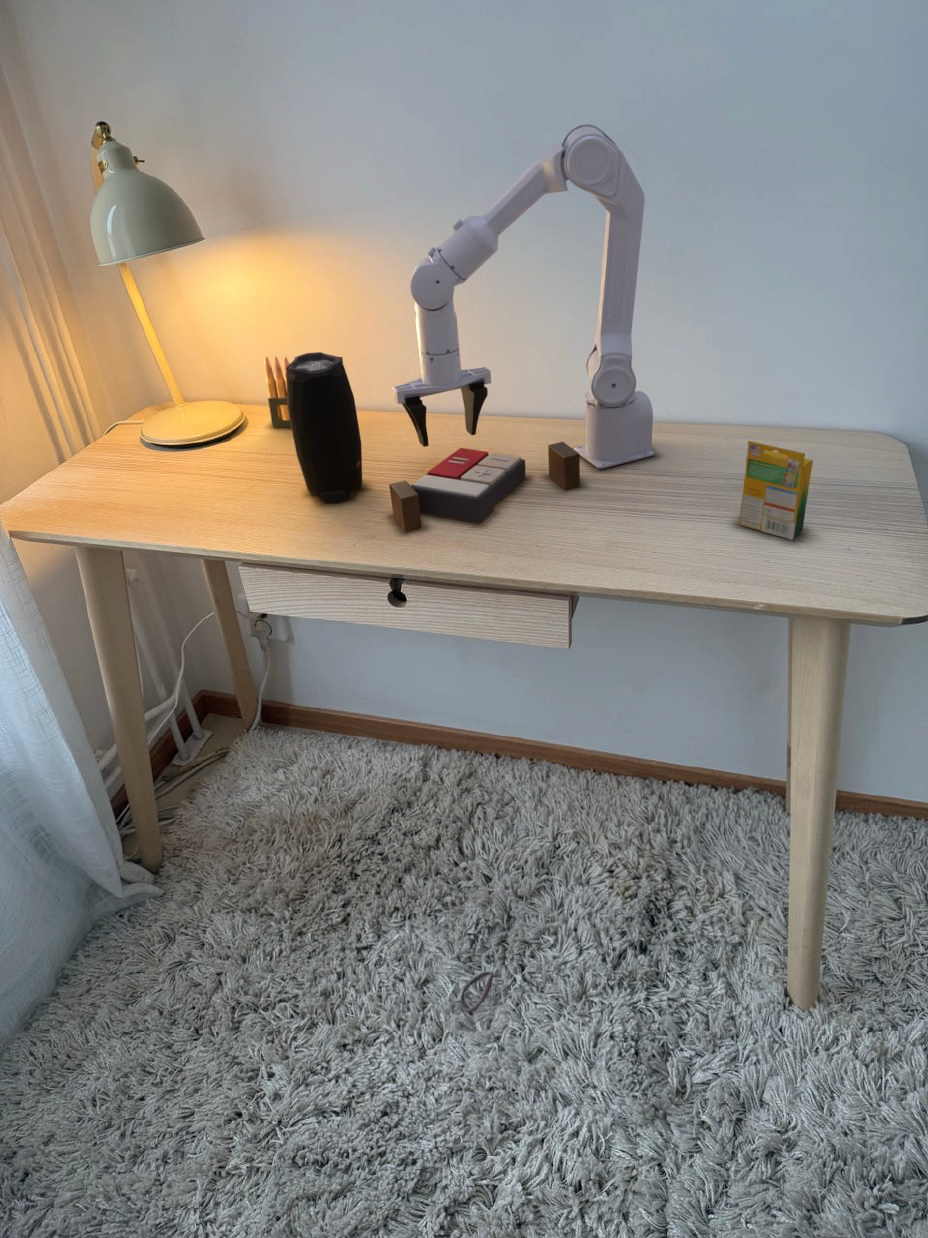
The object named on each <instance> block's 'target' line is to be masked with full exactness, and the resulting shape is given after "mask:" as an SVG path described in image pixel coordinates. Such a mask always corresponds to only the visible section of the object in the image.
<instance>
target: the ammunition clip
mask: <svg viewBox="0 0 928 1238" xmlns="http://www.w3.org/2000/svg"><path fill="white" fill-rule="evenodd" d="M296 357H297V356H294V357H293V360H294V359H295V358H296ZM263 362H264V363H263V364H264V372H265V383H266V389H267V395H268V398H267V400H268V407H269V413H270V420H271V421H270V422H271V426H272V427H273V428H291V423H290V418H289V413H288V407H287V381H286V367H287V366H288V365H289V364H290V361H289V358H288V357H287V356H284V357H283V369H282V366H281V363H280V360H279V359H278V356H274V358H273V368H272V364H271V362H270V360H269V358H268V356H266V355H265V356H264V361H263ZM273 369H274V371H273ZM283 372H284V374H283Z"/></svg>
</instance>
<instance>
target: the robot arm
mask: <svg viewBox="0 0 928 1238" xmlns="http://www.w3.org/2000/svg"><path fill="white" fill-rule="evenodd" d="M568 181H569V182H571V184H572V185H573V186H574V187H576V188H578V189H580V190H581V191H584V192H586V193H588V194H590V195H592V196H594V197H595V199H596V200H597V201H598V202H599V203H600V204H601V206H602V207H603V208H604V209H605V210H606V215H605V227H604V239H603V240H604V241H603V252H602V265H601V276H600V277H601V278H600V290H599V303H598V304H599V305H598V315H597V327H596V331H595V334H594V343H593V347H592V349H591V351H590V353H589V354H588V356H587V358H586V362H585V369H586V370H585V371H586V373H587V375H588V377H589V381H590V386H589V389H588V390H587V391H586V392H585V396H584V400H585V401H584V406H585V407H584V408H585V409H584V411H585V412H584V416H585V418H584V420H585V421H584V423H585V424H584V425H585V426H584V427H585V430H584V431H585V432H584V434H585V435H584V436H585V437H584V438H585V439H584V441H585V443H584V445H580V446H576V447H574V448H573V449H574V450H575V451H576V452H578V453H579V454H580V457H582V458H583V459H584V460H586V461H587V462H588V463H590V464H591V465H593V466H594V467H595V468H597V469H598V470H603V469H607V468H610V467H614V466H618V465H623V464H626V463H631V462H634V461H637V460H641V459H642V460H643V459H645V458H649V457H653V456H654V455H655V451H653V449H652V447H653V424H654V423H653V422H654V411H653V405H652V403H651V399H650V398H649V396H648V395H647V394H646V392H643V391H642V390H636V388H637V378H636V374H635V372H634V370H633V365H632V363H633V361H632V360H633V344H632V341H633V340H632V330H633V321H634V309H635V301H636V289H637V280H638V271H639V270H638V269H639V261H640V251H641V240H642V231H643V223H644V222H643V221H644V211H645V202H646V201H645V199H646V198H645V192H644V190H643V188H642V186H641V185H640V183H639V180H638V178H637V177H636V175H635V173H634V171H633V169H632V167H631V165H630V164H629V162H628V160H627V158H626V156H625V154H624V152H623V151H622V150H621V149H620V148H619V146H618V145H617V143H616V141H614V140H613V139H612V138H611V137H610V136H609V135H608V134H606V132H604V131H603V130H602V129H600V127H598V126H596V125H593V124H589V123H586V124H585V123H584V124H579V125H576V126H574V127H573V128H572V129H571V130H569V131H568V132H567V133H566V135H565V136H564V138H563V140H562V141H561V140H560V139H559V140H558V141H556V142H555V143H553V144H552V145H550V147H548V148H547V149H546V150H545V151H544V152H543V153H542V154H541V155H540V156H538V158H536V159H535V161H533V162H532V164H531V165H530V166H528V168H527V169H526V170H525V171H524V172H523V173H522V174H521V175H520V176H519V177H518V178H517V179H516V180H515V181H514V183H512V185H511V186H510V187H509V188H507V190H506V191H505V192H504V193H503V194H502V195H501V196H499V197H500V198H498V199H497V200H496V202H495V203H493V204H492V205H491V207H490V208H489V209H488V210H486V212H485V213H484V214H482V215H468V216H467V217H465V219H463V220H462V219H461V218H458V219H457V220H456V221H455V222H454V223H453V224H452V229H453V231H452V232H450V233H449V234H448V236H446V238H444V239H443V241H442V242H441V243H440V244H439V245H438V246H437V247H433V246H432V247H431V248H429V249H428V250H427V253H426V254H427V257H425V258H423V259H421V260H420V261H419V262H418V263H417V264H416V265H415V268H414V270H413V272H412V275H411V280H410V286H409V287H410V294H411V297H412V298H413V300H414V302H415V303H414V311H415V313H416V317H415V326H416V327H415V328H416V335H417V336H416V337H417V344H418V352H419V363H420V370H421V377H419V378H416V379H414V380H411V381H408V382H406V383H403V384H400V385H397V386H393V387H392V393H393V400H394V401H395V403H397V404H398V405H402V407H403V408H404V410H405V412H406V414H407V415H408V417H409V419H410V420H411V423H412V425H413V427H414V430H415V432H416V435H417V439H418V442H419V444H420V445H421V446H422V447H423V448H425V447H429V436H428V435H429V434H428V429H427V428H428V427H427V408H428V407H427V406H426V405H425V404H424V403H423V400H422V399H421V398H423V397H428V396H433V395H437V394H441V393H442V394H443V393H446V392H449V391H451V392H452V391H455V390H459V389H460V391H461V396H462V401H463V408H464V422H465V423H464V424H465V429H466V432H467V433H468V434H469V435H470V436H475V435H477V429H478V422H479V417H480V414H481V410H482V409H483V405H484V403H485V401H486V399H487V397H488V393H489V391H488V390H489V389H488V388H487V387H486V386H485V385H489V384H492V374H491V373H492V372H491V370H490V369H489V368H487V367H486V366H484V367H478V368H477V367H476V368H470V369H469V368H467V369H462V366H461V365H462V363H461V354H460V353H461V352H460V340H459V328H458V320H457V319H458V318H457V313H456V311H455V305H454V303H455V302H454V293H455V287H457V286H458V285H462V284H464V283H465V282H467V281H468V279H469V278H470V277H471V276H472V275H474V273H475V272H477V271H478V270H479V269H480V268H481V267H482V266H483V265H484V264H485V263H486V262H487V261H488V260H489V259H490V258H492V256H493V255H494V254H496V253H497V252H498V251H499V250H498V249H499V237H500V235H501V234H502V233H504V231H505V230H506V229H508V228H509V227H510V226H511V225H512V224H514V223H515V222H516V221H517V220H518V219H519V218H520V217H521V216H523V214H525V212H527V211H528V210H529V209H530V208H531V207H532V206H533V205H535V204H536V203H537V202H538V201H540V200H541V198H542V197H543V196H545V195H548V194H554V193H563V192H568V191H569V188H568V185H567V182H568Z"/></svg>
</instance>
